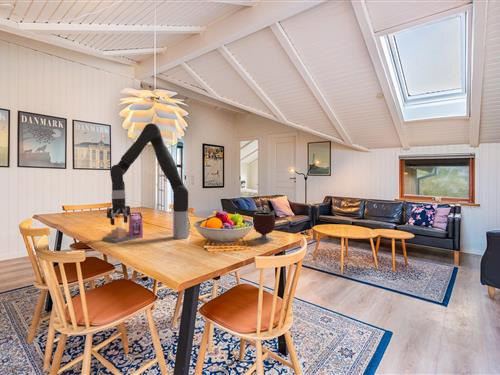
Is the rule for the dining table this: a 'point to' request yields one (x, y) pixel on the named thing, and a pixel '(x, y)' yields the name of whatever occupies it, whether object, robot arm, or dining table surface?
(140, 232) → the gum box
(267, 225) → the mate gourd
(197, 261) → the dining table surface
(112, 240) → the board
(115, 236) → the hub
